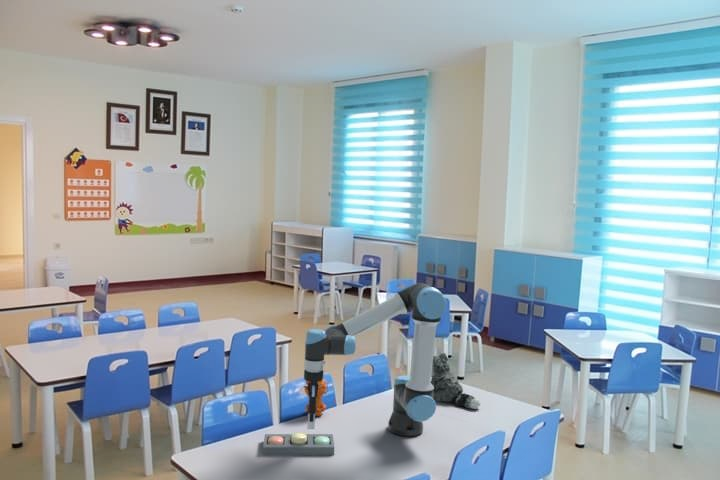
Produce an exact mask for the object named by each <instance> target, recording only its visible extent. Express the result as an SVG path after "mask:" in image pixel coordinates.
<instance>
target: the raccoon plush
mask: <svg viewBox="0 0 720 480" xmlns="http://www.w3.org/2000/svg"><path fill="white" fill-rule="evenodd" d="M448 362H449V358H448V357H447V354H446V352H445V353H444V352H442V353H440V354H439V355H433V363H432V373H431V384H432V385H433V386H434V392H433V399H434V400H435V401H436V402H437V401H438V402H444V403H445V402H446V403H454V404H455V405H457V406H460V407H462V408H463V407H464V408H467V409H472V410H477V409H479V407H481V402H480V401H479V399H478V398H476V397H475V396H473V395H471V394H467V393H465V392H464V388H463V387H462V385H461V384H460V383H459V379H457V378H456V377H455V376H454V372H452V371H451V370H450V369H451V367H450V366H449V365H450V364H449V363H448Z"/></svg>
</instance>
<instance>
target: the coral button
mask: <svg viewBox="0 0 720 480" xmlns="http://www.w3.org/2000/svg"><path fill="white" fill-rule="evenodd" d="M283 441H284V439H283V438H282V437H280V436H272V437H270V438H268V444H283Z"/></svg>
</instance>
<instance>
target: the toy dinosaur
mask: <svg viewBox="0 0 720 480" xmlns="http://www.w3.org/2000/svg"><path fill="white" fill-rule="evenodd" d="M308 383H309V381H306V380H305V384H306V385H304V386H303V388H304V392H305V394H306V395H307V396H308ZM316 383H318V391H317V397H316V409H317V411H316V413H315V417H318V416H321V415H322V414H323V413H325V411H326V410H327V404H324V402H323V400H322V398H323V397H324V395H326V394H327V393H328V387H329V385H328V383H327V381H326V379H325V378H323V380H322V381H320V382H316ZM308 405H309V403H307V404H305V413H307V411H309V410H308V409H309V407H308Z"/></svg>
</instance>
